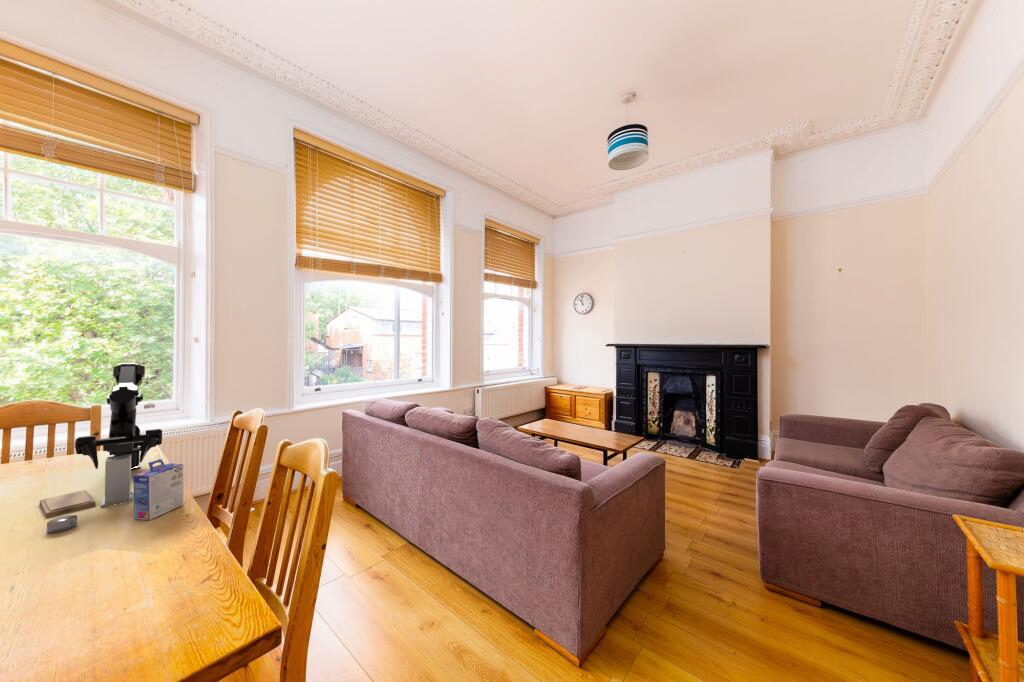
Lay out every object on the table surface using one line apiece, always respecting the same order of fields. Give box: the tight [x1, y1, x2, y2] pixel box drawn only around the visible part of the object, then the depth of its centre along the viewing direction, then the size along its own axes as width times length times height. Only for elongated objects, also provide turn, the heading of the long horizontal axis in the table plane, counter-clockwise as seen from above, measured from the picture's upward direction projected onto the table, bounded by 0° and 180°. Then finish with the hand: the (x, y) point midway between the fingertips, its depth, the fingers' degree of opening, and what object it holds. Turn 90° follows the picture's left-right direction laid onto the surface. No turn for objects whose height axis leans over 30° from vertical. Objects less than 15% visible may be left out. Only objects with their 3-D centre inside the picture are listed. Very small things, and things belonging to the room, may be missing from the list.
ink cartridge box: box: [132, 458, 184, 521], centre depth 107 cm, size 10×6×14 cm, turn 174°
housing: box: [100, 454, 134, 508], centre depth 112 cm, size 6×6×13 cm
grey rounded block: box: [46, 514, 78, 535], centre depth 96 cm, size 5×5×2 cm
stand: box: [39, 489, 97, 518], centre depth 109 cm, size 9×13×2 cm
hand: (119, 465), depth 113 cm, fingers open, 9 cm apart
